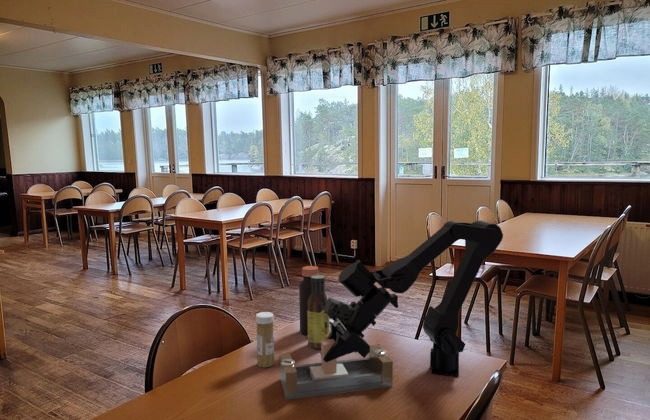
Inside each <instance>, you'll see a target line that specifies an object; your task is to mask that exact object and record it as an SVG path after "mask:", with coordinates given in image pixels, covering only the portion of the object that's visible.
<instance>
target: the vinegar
mask: <svg viewBox="0 0 650 420" xmlns="http://www.w3.org/2000/svg"><path fill="white" fill-rule="evenodd" d="M301 274H302V276H301V277H302V278H303V279H302V280H301V281H300V283H299V285H298V291H299V292H298V293H299V296H298V297H299V298H298V299H299V332H300V334H301V335H303V336H306V337H308V319H307V310H308V299H309V296H310V295H311V293H312V292H311V290H312V284H311V276H315V275H319V266H314V265H306V266H302V268H301Z"/></svg>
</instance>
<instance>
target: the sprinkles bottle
mask: <svg viewBox="0 0 650 420" xmlns="http://www.w3.org/2000/svg"><path fill="white" fill-rule="evenodd" d="M274 316H275V315H274V314H273V313H272V312H271V311H270V312H269V311H260V312H258V313H256V315H255V324H256V353H257V362H256V363H257V364H256V365H257V366H259V367H260V368H270V367H273V365H275V342H274V341H275V339H274V338H275V337H274V321H275V320H274V319H275V317H274Z"/></svg>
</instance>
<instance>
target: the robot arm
mask: <svg viewBox="0 0 650 420" xmlns="http://www.w3.org/2000/svg"><path fill="white" fill-rule="evenodd" d="M503 238H504V234H503V231H502V228H501V227H500V225H498V224H495V223H493V222H492V223H491V222H489V221H488V222H487V221H485V220H476V221H473V222H460V221H453V220H449V221H446V222H445V223H444V224H443V226H441V228H439V230H437V231H435V232H434V233H433V234H432V235H431V236H430V237H428V238H427V239H426V240H425V241H424V242H422V244H420V245H419V246H418V247H416V248H415V249H414V250H413V251H411V252H410V253H409V254H408V255H406V256H404V257H401V258H397V259H396V260H394V261H392V262H390V263H388V264H387V265H385V266H384V267H383V268H382V269H377V270H376V269H375V270H372V271H370V270H369V269H368V268H367V267H366V266H365V264H364V263H363V262H362V261H361V260H360V259H356V261H355V262H354V263H351V264H349V265H348V266H347V267H344V269H343V270H342V271H341V272H340V273H339V275H338V278H337V280H338V282H339V283H340V284H342V285H343V286H344V288H345V289H347V291H349V292H350V293H351V294H352V295H353V296H354V297H356V298H357V297H361V298H360V299H358V301H357V302H356V301H355V300H353V301H351V302H350V303H349V304H347V303H345V302H343V301H341V300H338V299H335V298H333V297H330V296H329V297H327V299H328V301H327V303H326V305H325V307H324V311H326V314H327V315H328V316H329V318H330V322H329V324H330V334H329V336H328V338H327V340H328V339H334V341H335V343H334V344H333V345H332V347H331V348H330V350H329V351H328V352H327V354H326V355H325V357H324V358H323V360H324V361H325V362H329V361H331V360H334V359H336V360H337V359H338V358H341V357H343V356H347V355H350V354H353V353H355V354H356V353H358V354H359V355H360V356H361V357H362V358H367V356H369V352H370V344H369V343H368V341H366V339H364V337H365V334H364V332H365V331H366V330H367V329H368V328H369V326H371V325H372V326H375V325H376V324H377V321H376V320H377V318H378V317H379V315H381V313H382V312H383V311H384V310H385V309H386V308H387V307H388V306H389V305H390V304H391V306H392V307H394V308H395V309H398V308H399V300H398V298H399V296H398V295H396V294H405V293H406V292H408V290H409V289H410V288H411V287H412V285H414V283H416V281H417V280H418V278H419V275H420V274H421V272H422V271H423V270H424V268H426V267H427V266H429V264H430V263H432V262H433V261H434V260H436V259H437V258H438V257H439V256H441V254H442V253H444V252H445V251H446V250H447V249H449V248H450V247H451V246H452V245H454V243H456V242H457V241H459V240H463V241H464V253H463V256H462V257H461V260H460V262H459V264H458V266H457V268H456V270H455V272H454V275H453V277H452V279H451V281H450V282H449V284H448V287H447V289H446V291H445V293H444V296H443V298H442V299H441V302H440V303H439V304H438V305H436V306H435V307H433V306H432V305H430V306H428V308H427V312H426V314H425V316H424V317H423V318H422V321H423V325H422V329H423V331H424V333H425V335H426V336H427V337H428V339H429V340H430V341H431V342H432V343H433V344H432V345H433V346H432V348H430V354H429V355H430V356H429V359H430V360H429V362H430V363H429V367H430V369H431V374H434V375H442V376H449V377H450V376H453V377H460V359H459V358H460V353H463V352H464V350H465V346H466V343H465V342H464V341H463V340H462V339H461V338H459V337H458V336H457V333H458V329H459V326H460V325H459V324H460V322H459V321H460V311H461V310H462V307H463V304H464V303H465V301H466V299H467V296H468V295H469V292H470V290H471V288H472V286H473V284H474V282H475V280H476V277H477V275H478V273H479V271H480V269H481V267H482V265H483V263H484V261H485V260H486V259H487V258H489V257H490V256H491V255H493V254H494V253H495V252H496V250H497V248H498V247H499V245H500V244H501V242H502V241H503ZM376 283H377V284H378V285H379V286H380V287H377V285H376ZM387 289H389V290H390V291H391V292H393V293H391V292H389V291H388V290H387ZM331 320H333V321H331ZM319 353H320V355H321V351H320V352H319Z"/></svg>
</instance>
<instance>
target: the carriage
mask: <svg viewBox="0 0 650 420" xmlns="http://www.w3.org/2000/svg"><path fill="white" fill-rule="evenodd" d="M334 343H335V341H334V339H328V340H321V349H320V352H321V354H320V363H321V366H315V367H310V375H311V378H312V380H319V379H328V378H337V377H345V376H348V372H347V371H346V369H345V367H344V366H343V364H337V362H336V361H337V358H336V359H334V360H331V361H329V362H325V361H324V360H323V358H324V357H325V355H326V354H327V352H328V351H329V350H330V348H331V347H332V345H333V344H334Z"/></svg>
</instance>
